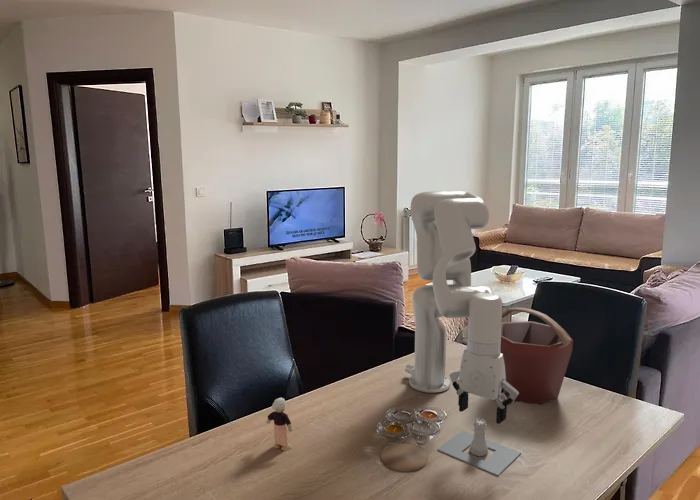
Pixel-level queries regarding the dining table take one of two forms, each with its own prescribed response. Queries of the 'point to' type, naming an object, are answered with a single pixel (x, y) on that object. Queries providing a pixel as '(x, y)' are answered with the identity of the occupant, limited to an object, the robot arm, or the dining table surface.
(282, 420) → the grandmother figurine
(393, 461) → the walnut coaster
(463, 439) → the grey frame plate
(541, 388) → the bucket
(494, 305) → the robot arm
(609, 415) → the dining table surface
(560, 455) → the dining table surface
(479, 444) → the rook chess piece
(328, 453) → the dining table surface
